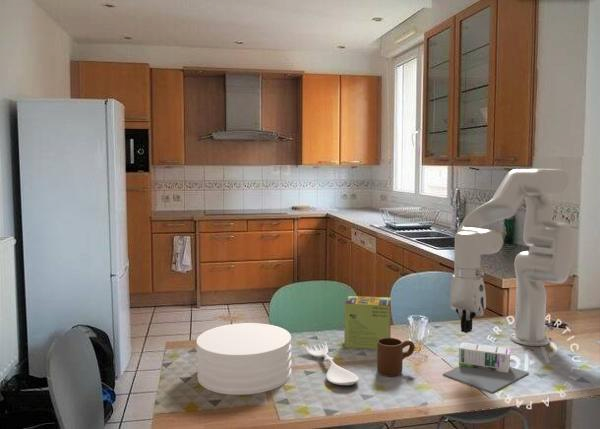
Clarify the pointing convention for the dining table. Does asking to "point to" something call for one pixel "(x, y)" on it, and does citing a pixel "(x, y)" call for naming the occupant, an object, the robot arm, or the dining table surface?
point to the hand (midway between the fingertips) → (466, 331)
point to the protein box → (367, 321)
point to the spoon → (332, 367)
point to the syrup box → (484, 357)
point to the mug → (392, 355)
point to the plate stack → (244, 358)
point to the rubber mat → (485, 377)
